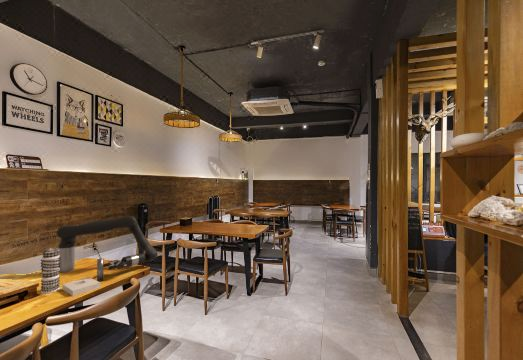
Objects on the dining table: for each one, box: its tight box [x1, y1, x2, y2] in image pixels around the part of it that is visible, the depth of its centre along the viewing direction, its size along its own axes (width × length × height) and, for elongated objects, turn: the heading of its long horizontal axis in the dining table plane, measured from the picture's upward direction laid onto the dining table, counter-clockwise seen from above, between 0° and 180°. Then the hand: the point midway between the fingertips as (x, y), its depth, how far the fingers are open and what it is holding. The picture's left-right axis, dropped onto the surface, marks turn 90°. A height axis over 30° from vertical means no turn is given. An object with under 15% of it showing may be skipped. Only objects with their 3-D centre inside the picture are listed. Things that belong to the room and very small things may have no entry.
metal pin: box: [96, 258, 105, 283], centre depth 161 cm, size 4×4×14 cm
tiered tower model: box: [40, 247, 61, 295], centre depth 146 cm, size 9×9×25 cm
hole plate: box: [61, 276, 101, 297], centre depth 149 cm, size 16×14×3 cm
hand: (106, 267), depth 164 cm, fingers open, 8 cm apart
